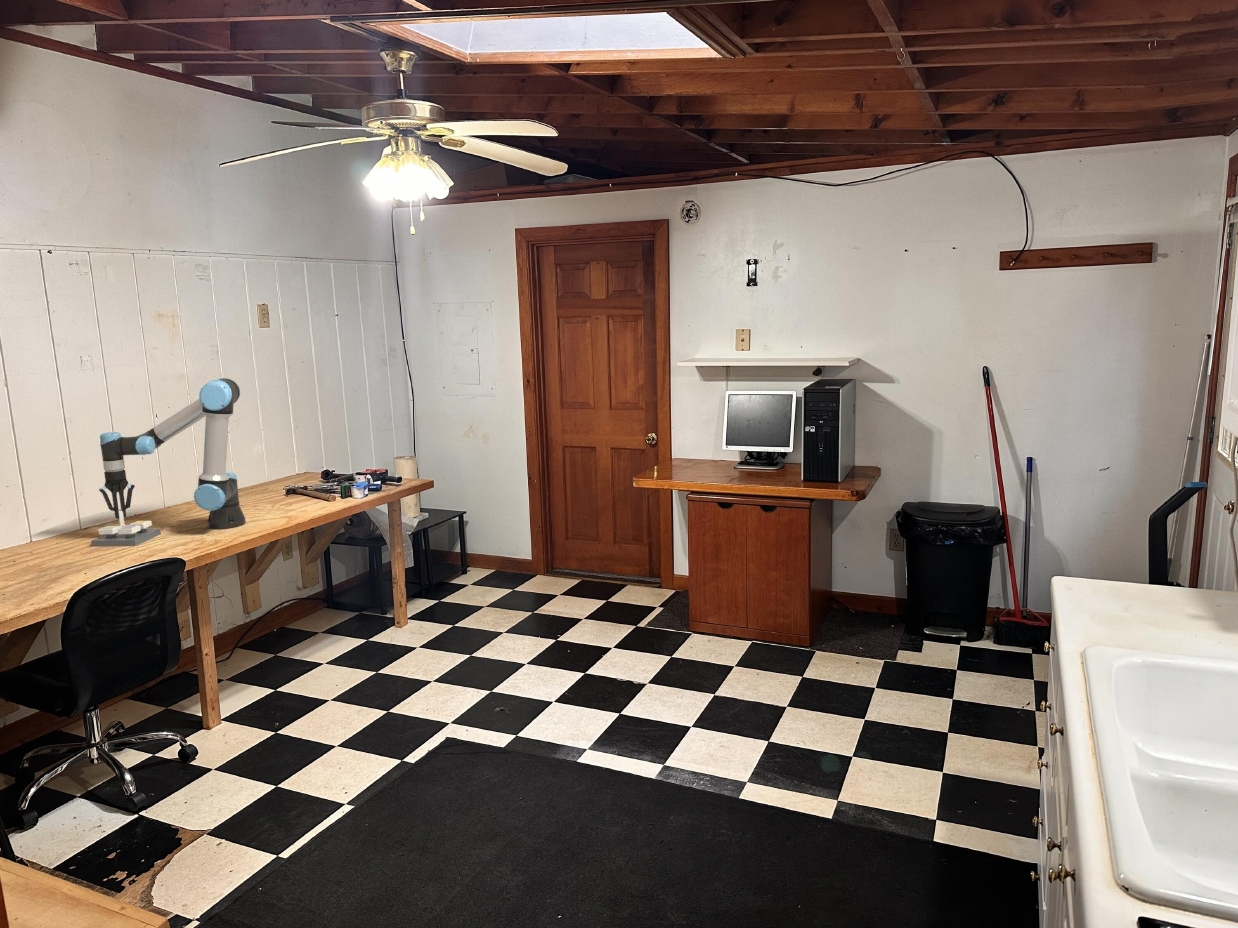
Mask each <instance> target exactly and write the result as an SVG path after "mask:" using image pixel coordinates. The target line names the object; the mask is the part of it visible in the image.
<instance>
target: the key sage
mask: <svg viewBox="0 0 1238 928" xmlns="http://www.w3.org/2000/svg"><path fill="white" fill-rule="evenodd" d="M120 528H121V526H119V525H106V526H103V527H101V528H99V529H97V531H98V535H106V538H113V537H115V536H116V535H115V533H117V532H118V529H120Z"/></svg>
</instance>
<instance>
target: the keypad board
mask: <svg viewBox="0 0 1238 928" xmlns="http://www.w3.org/2000/svg"><path fill="white" fill-rule="evenodd" d="M134 534H135V536H134V537H132V538H125V534H118V533H115V535H116V536H115V537H113V538H106V534H102V535H101V536H100V537H99V536H98V537H96V538H94V539H92V540H91V542H90V543H91V547H137V546H138V545H140V544H143V543H145V542H147V541H149V540H151V539H154V538H155V537H158V536H160V535H161V534H162V532H161V528H146V531H145V532H143V533H137V532H136V533H134Z"/></svg>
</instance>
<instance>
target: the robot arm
mask: <svg viewBox="0 0 1238 928" xmlns="http://www.w3.org/2000/svg"><path fill="white" fill-rule="evenodd" d="M240 396H241V390H240V387H239V384H237V382H235V381H234V380H232V379H230V378H227V377H226V378H225V377H224V378H218V379H213V380H210V381H208V382H206V383H205V384H204V385H203V386H202V387H201V388H200V391H199V397H198V399H196V400H195V401H193V402H191V403H190V404H189V405H186V406H185V407H184V408H182V409H181V410H179V411H177V412H176V413H174V414H173V415H171V416H170V417H168V418H166V419H165V420H163V421H162V422H160V423H158V424H156V425H155V426H154V427H153V428H151V429H149V430H147V431H146V432H144V433H141V434H139V435H136V436H122V434H121V433H120V431H119V432H118V431H108V432H103V433H101V434H99V435H100V436H99V443H100V444H99V445H100V446H99V447H100V449H101V450H100V451H101V459H102V464H103V465H102V466H103V470H104V472H103V473H104V474H103V475H104V484H103V485H104V486H102V487H101V488H98V491H99V492H100V493H101V495H102V497H103V499H104V501H105V503H106V505H107V508H108V510H110V511H111V512H113V511H114V517H115V519H116V520H118V526H121V527H122V526H125V525H126V524H125V518H127V511H126V510H127V509H130V508H131V503H132V496H133V490H134V489H135V484H133V483H129V480H127V479H128V478H127V473H126V470H125V468H126V465H125V459H124V456H146V455H152V454H153V453H154V452H155V450H156V449H158V448H160V447H161V445H162V444H164V443H165V442H167V441H169V440H170V439H172V438H173V437H175V436H177V435H178V434H180V433H182V432H183V431H185V430H187V429H188V428H190V427H191V426H193V425H194V424H196V423H197V422H199V421H201V420H202V419H204V418H205V422H204V423H205V424H204V443H203V446H204V447H203V461H202V463H203V464H202V467H203V468H202V473H201V474H200V475H198V477H197V478H198V481H197V488H196V489H195V491H194V494H193V499H194V502H195V504H196V505H197V506H198V507H199V508H201V509H202V510H205V511H209V515H208V519H207V527H208V528H209V529H214V530H222V529H223V530H225V529H231V528H237V527H240V526H244V525H245V524H246V523H247V521H246V516H245V514H244V512H243V510H242V508H241V506H240V496H239V487H238V479H237V474H236V473H235V472H227V471H226V469H227V455H228V454H227V452H228V451H227V450H228V438H229V437H228V436H229V435H228V434H229V419H230V417H231V416H233V415H234V404H235V403H236V402H237V401H238V400H239V399H240ZM126 488H127V491H126V492H127V493H126V498H125V490H126ZM108 491H109V492H110V493H111V497H112V498H111V499H112V502H111V500H110V498H109V495H108V493H107V492H108ZM118 497H119V504H120V509H119V504H118ZM125 499H126V501H125Z"/></svg>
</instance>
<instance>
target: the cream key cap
mask: <svg viewBox="0 0 1238 928" xmlns="http://www.w3.org/2000/svg"><path fill="white" fill-rule="evenodd" d="M129 525H130V526H140V529H141V530H140V531H138V532H137V533H143V532H145V531H146V529H148V528H149V527H151V526H153V523H152V520H136V521H135V522H132V523H129Z"/></svg>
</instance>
